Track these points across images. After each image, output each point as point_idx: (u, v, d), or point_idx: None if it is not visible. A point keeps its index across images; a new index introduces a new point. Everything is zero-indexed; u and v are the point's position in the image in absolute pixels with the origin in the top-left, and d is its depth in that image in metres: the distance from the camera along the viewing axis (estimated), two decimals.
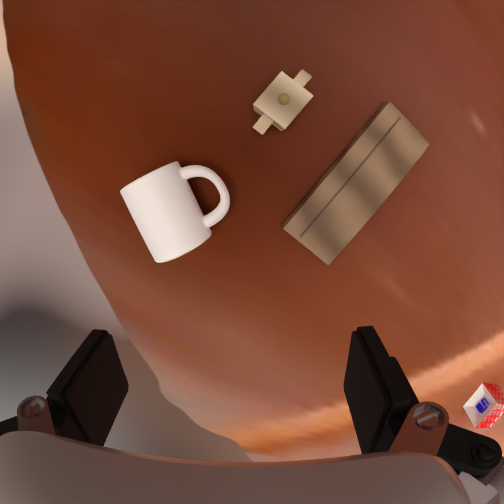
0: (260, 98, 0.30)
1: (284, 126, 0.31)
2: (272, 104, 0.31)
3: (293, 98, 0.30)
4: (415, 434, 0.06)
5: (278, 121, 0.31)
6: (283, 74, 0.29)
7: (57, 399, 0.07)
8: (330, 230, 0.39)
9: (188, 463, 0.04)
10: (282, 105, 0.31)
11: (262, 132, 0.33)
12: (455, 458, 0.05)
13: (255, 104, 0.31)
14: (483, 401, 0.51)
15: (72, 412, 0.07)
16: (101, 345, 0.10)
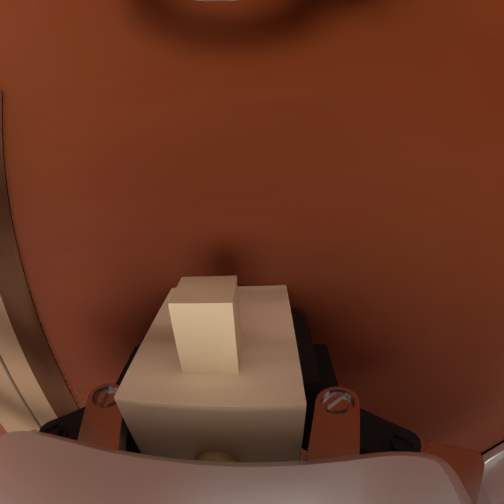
0: (294, 431, 0.06)
1: (124, 403, 0.06)
2: (234, 439, 0.07)
3: None
4: (330, 420, 0.07)
5: (157, 407, 0.06)
6: None
7: None
8: None
9: (188, 463, 0.04)
10: (201, 451, 0.07)
11: (176, 310, 0.07)
12: (364, 446, 0.06)
13: (295, 409, 0.06)
14: None
15: None
16: None
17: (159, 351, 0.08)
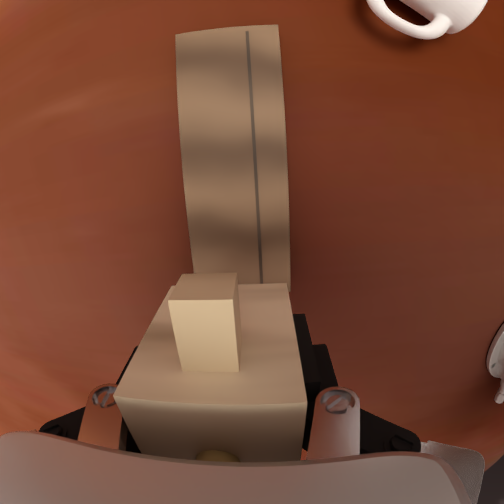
0: (295, 430, 0.06)
1: (123, 401, 0.06)
2: (234, 438, 0.06)
3: None
4: (330, 420, 0.07)
5: (157, 405, 0.06)
6: None
7: None
8: (216, 70, 0.20)
9: (188, 463, 0.04)
10: (201, 450, 0.07)
11: (176, 307, 0.07)
12: (364, 446, 0.06)
13: (296, 407, 0.06)
14: None
15: None
16: None
17: (159, 349, 0.08)
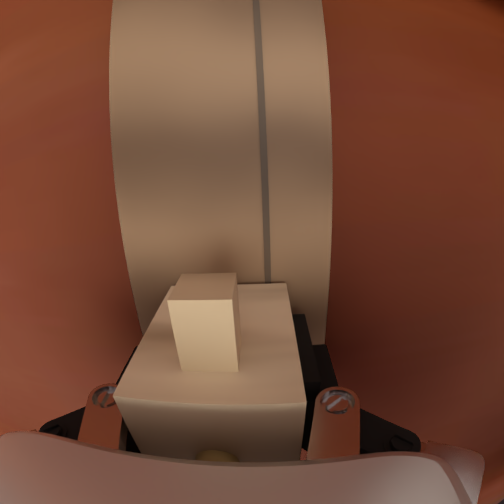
0: (294, 429, 0.06)
1: (123, 401, 0.06)
2: (234, 437, 0.06)
3: None
4: (330, 420, 0.07)
5: (156, 405, 0.06)
6: None
7: None
8: None
9: (188, 463, 0.04)
10: (201, 450, 0.07)
11: (175, 307, 0.07)
12: (364, 446, 0.06)
13: (295, 407, 0.06)
14: None
15: None
16: None
17: (158, 349, 0.08)
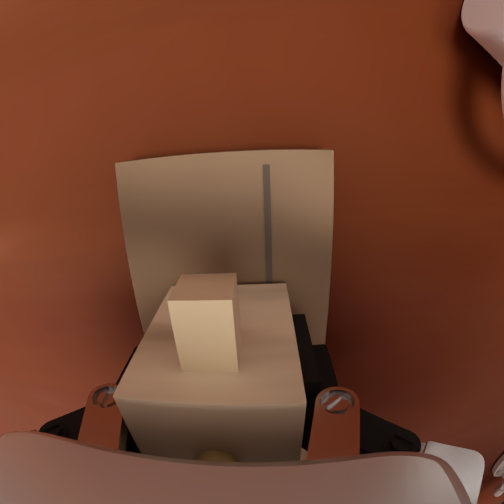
0: (294, 430, 0.06)
1: (123, 401, 0.06)
2: (234, 438, 0.06)
3: None
4: (330, 420, 0.07)
5: (156, 406, 0.06)
6: None
7: None
8: (201, 254, 0.12)
9: (188, 463, 0.04)
10: (201, 450, 0.07)
11: (175, 308, 0.07)
12: (364, 446, 0.06)
13: (295, 407, 0.06)
14: None
15: None
16: None
17: (158, 349, 0.08)
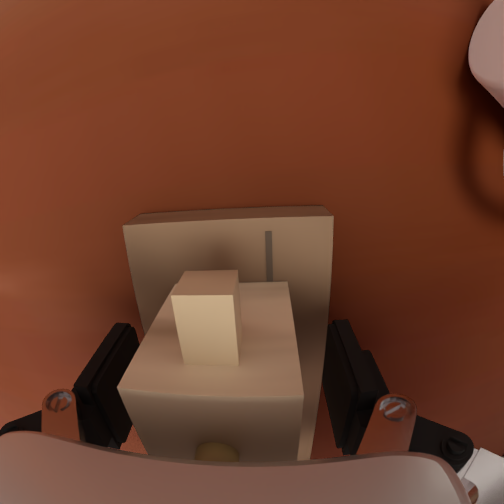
0: (292, 422, 0.07)
1: (127, 393, 0.07)
2: (234, 430, 0.07)
3: None
4: (384, 426, 0.06)
5: (159, 397, 0.06)
6: None
7: (85, 391, 0.08)
8: None
9: (188, 463, 0.04)
10: (202, 442, 0.07)
11: (178, 302, 0.07)
12: (423, 451, 0.06)
13: (293, 400, 0.06)
14: None
15: (99, 404, 0.08)
16: (125, 338, 0.10)
17: (162, 343, 0.08)
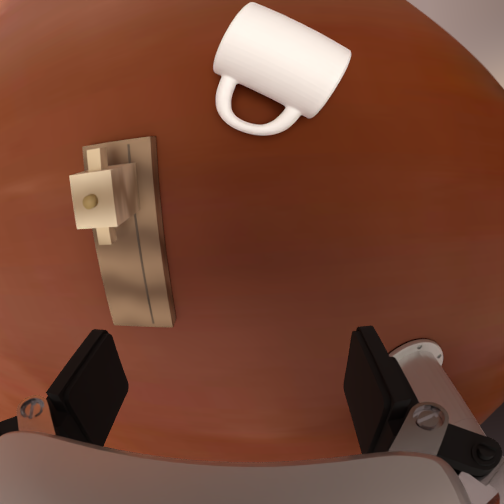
0: (109, 181, 0.24)
1: (71, 177, 0.24)
2: (96, 186, 0.24)
3: (86, 209, 0.25)
4: (415, 434, 0.06)
5: (79, 176, 0.24)
6: (113, 224, 0.25)
7: (57, 399, 0.07)
8: None
9: (188, 463, 0.04)
10: (88, 194, 0.24)
11: (88, 152, 0.24)
12: (455, 458, 0.05)
13: (108, 171, 0.23)
14: None
15: (72, 412, 0.07)
16: (101, 345, 0.10)
17: (85, 171, 0.25)
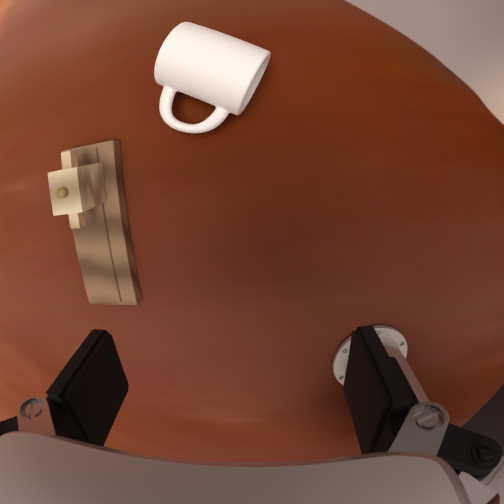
0: (76, 176, 0.29)
1: (49, 174, 0.29)
2: (66, 180, 0.29)
3: (60, 199, 0.29)
4: (415, 434, 0.06)
5: (54, 173, 0.28)
6: (79, 210, 0.30)
7: (57, 399, 0.07)
8: None
9: (188, 463, 0.04)
10: (61, 187, 0.29)
11: (62, 154, 0.29)
12: (455, 458, 0.05)
13: (75, 168, 0.28)
14: None
15: (72, 412, 0.07)
16: (101, 345, 0.10)
17: None
